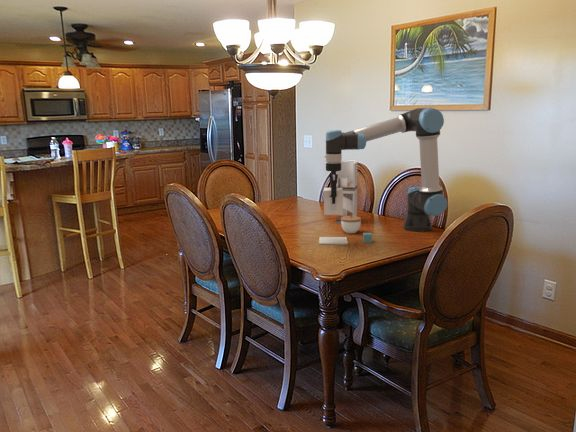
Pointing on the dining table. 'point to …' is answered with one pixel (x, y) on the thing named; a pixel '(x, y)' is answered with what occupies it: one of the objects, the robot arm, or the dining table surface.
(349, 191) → the display case
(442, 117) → the robot arm
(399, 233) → the dining table surface
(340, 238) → the mat
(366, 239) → the teal block
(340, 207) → the white block
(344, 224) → the lidded jar
